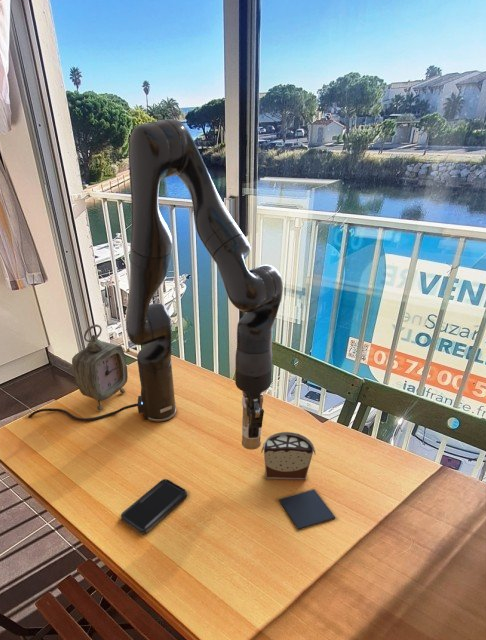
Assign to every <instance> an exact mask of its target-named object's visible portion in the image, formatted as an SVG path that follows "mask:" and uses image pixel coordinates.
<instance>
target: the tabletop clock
mask: <svg viewBox="0 0 486 640" xmlns="http://www.w3.org/2000/svg"><path fill="white" fill-rule="evenodd" d="M94 328H99V332H98V333H97V335H95V334H92V335H91V339H90V338H89V339H87V335H88V333H89V332H90V331H91V330H92V329H94ZM102 329H103V328H102V326H101V325H99V324H93V325H91V326H90V327H88V328H87V329H86V330H85V331H84V334H83V339H84V341H85V342H87V345H86V347H84V348H82V349H81V350H80V351H78V352H77V353H75V355H74V356H73V357H72V358H71V366H72V373H73V377H74V380H75V385H76V386H77V389H78V390H79V392H80V393H81V394H82V396H85V397H88V398H90V399H94V400H96V401H97V404H98V405H97V407H96V408H97V411H99V412H101V411H102V410H103V408H104V407H103V406H102V405H101V402H104V401H106V400H108V399H109V398H111V397H112V396H114V395H116V394H117V393H118V392H120V393H121V394H125V393H126V389H125V388H123V387H124V386H125V385H126V384H127V383H128V363H127V358H126V355H125V351H124V349H123V347H122V345H118V344H114V343H111V342H107V341H103V340H101V339H98V338H99V337H100V336H101V334H102V331H103V330H102Z"/></svg>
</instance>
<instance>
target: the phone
mask: <svg viewBox="0 0 486 640" xmlns="http://www.w3.org/2000/svg"><path fill="white" fill-rule="evenodd" d="M187 498H188V491H187V490H186V489H185V488H183V487H181V486H179V485H178V484H176V483H174V482H173V481H171V480H170V479H167V478H164V479H161V480H160V481H159V482H157V484H155V485H154V486H153V487H152V488H150V489H149V490H148V491H147V492H146V493H144V494H143V495H141V497H139V498H138V499H137V500H136V501H135V502H133V503H132V504H131V505H130V506H129V507H127V508H126V509H125V510H124V511H122V513H121V515H120V517H121V520H122V522H123V523H125V524H126V525H128V526H129V527H131V528H132V529H134V530H135V531H136V532H138V533H139V534H141V535H146V534H148V533H149V532H150V531H151V530H152V529H153V528H154V527H156V525H158V524H159V523H160V522H162V521H163V520H164V519H165V518H166V517H167V516H168V515H169V514H170V513H171V512H172V511H173V510H174V509H175V508H177V507H178V506H179V505H180V504H181V503H182V502H183V501H184V500H186V499H187Z"/></svg>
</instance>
